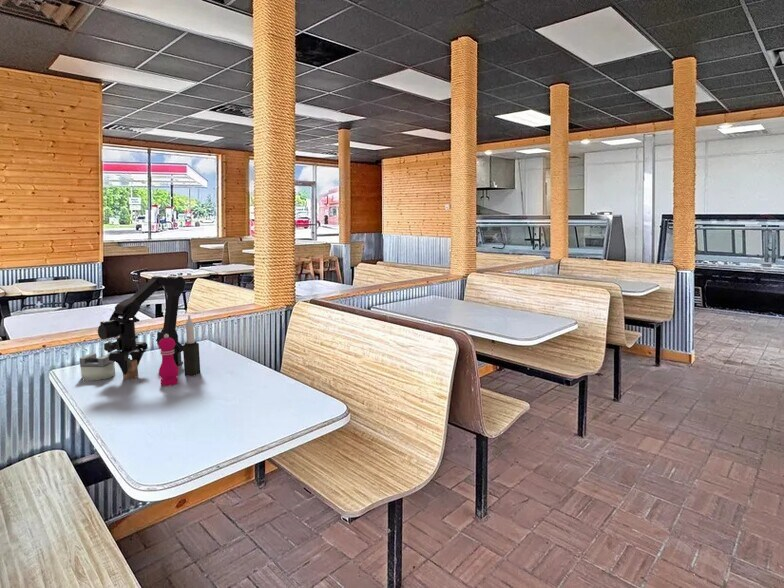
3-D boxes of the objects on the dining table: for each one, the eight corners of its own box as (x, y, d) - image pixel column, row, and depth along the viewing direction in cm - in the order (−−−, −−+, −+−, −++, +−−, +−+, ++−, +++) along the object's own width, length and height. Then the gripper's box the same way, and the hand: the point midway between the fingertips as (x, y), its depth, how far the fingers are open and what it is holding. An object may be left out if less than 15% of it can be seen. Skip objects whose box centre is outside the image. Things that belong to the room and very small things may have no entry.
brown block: (138, 376, 207) (137, 359, 206) (132, 379, 203) (131, 362, 202) (128, 375, 207) (127, 359, 206) (123, 379, 203) (121, 362, 202)
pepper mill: (174, 386, 195) (171, 336, 192) (156, 386, 195) (152, 335, 192) (182, 380, 202) (179, 331, 199) (164, 380, 202) (161, 331, 199)
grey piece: (121, 371, 212) (120, 360, 211) (104, 381, 200) (103, 369, 200) (93, 371, 213) (92, 359, 212) (74, 380, 201) (73, 368, 200)
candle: (194, 376, 207) (191, 316, 203) (183, 375, 208) (179, 316, 204) (201, 372, 212) (198, 314, 208) (190, 371, 213) (187, 313, 209)
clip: (114, 361, 209) (114, 353, 209) (103, 367, 202) (102, 358, 201) (92, 361, 210) (91, 353, 209) (80, 366, 202) (79, 358, 202)
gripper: (121, 328, 212) (123, 364, 214) (93, 339, 193) (96, 378, 196) (146, 329, 211) (149, 364, 214) (121, 340, 193) (124, 379, 195)
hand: (130, 371), depth 205 cm, fingers open, 7 cm apart
